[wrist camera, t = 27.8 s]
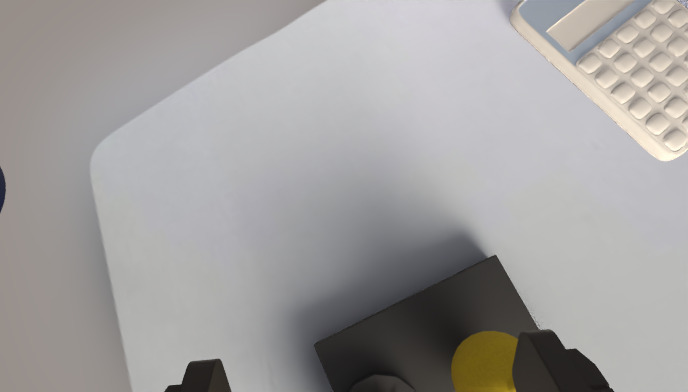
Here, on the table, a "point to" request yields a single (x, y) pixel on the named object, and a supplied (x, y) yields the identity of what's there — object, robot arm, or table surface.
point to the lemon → (484, 363)
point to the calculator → (620, 61)
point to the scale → (424, 333)
